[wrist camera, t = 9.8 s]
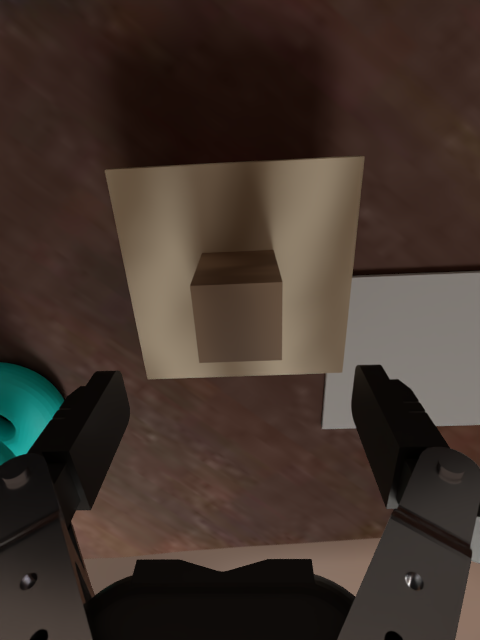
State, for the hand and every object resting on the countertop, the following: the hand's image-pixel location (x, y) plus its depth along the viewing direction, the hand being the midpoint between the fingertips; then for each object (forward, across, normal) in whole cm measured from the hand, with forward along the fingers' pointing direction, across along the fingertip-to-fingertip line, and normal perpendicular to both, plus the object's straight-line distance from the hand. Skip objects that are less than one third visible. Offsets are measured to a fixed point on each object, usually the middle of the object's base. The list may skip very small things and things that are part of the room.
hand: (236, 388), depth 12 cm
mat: (+16, -14, +9) cm, 23 cm away
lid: (+10, 0, 0) cm, 11 cm away
